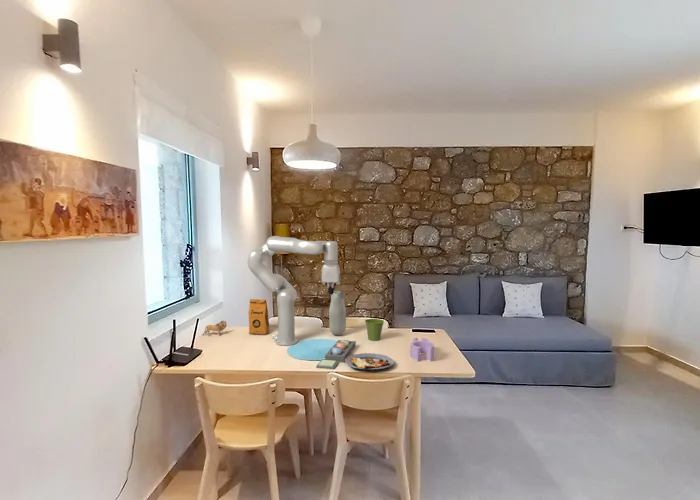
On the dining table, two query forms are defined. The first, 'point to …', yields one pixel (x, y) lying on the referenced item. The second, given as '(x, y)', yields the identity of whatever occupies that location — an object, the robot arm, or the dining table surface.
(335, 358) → the button panel
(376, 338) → the plant pot
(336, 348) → the slate button
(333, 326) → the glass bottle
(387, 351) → the dining table surface
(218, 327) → the lion figurine
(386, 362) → the food plate
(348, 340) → the sage button
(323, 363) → the card
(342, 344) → the peach rounded dome
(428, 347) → the clip
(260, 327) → the coffee package
